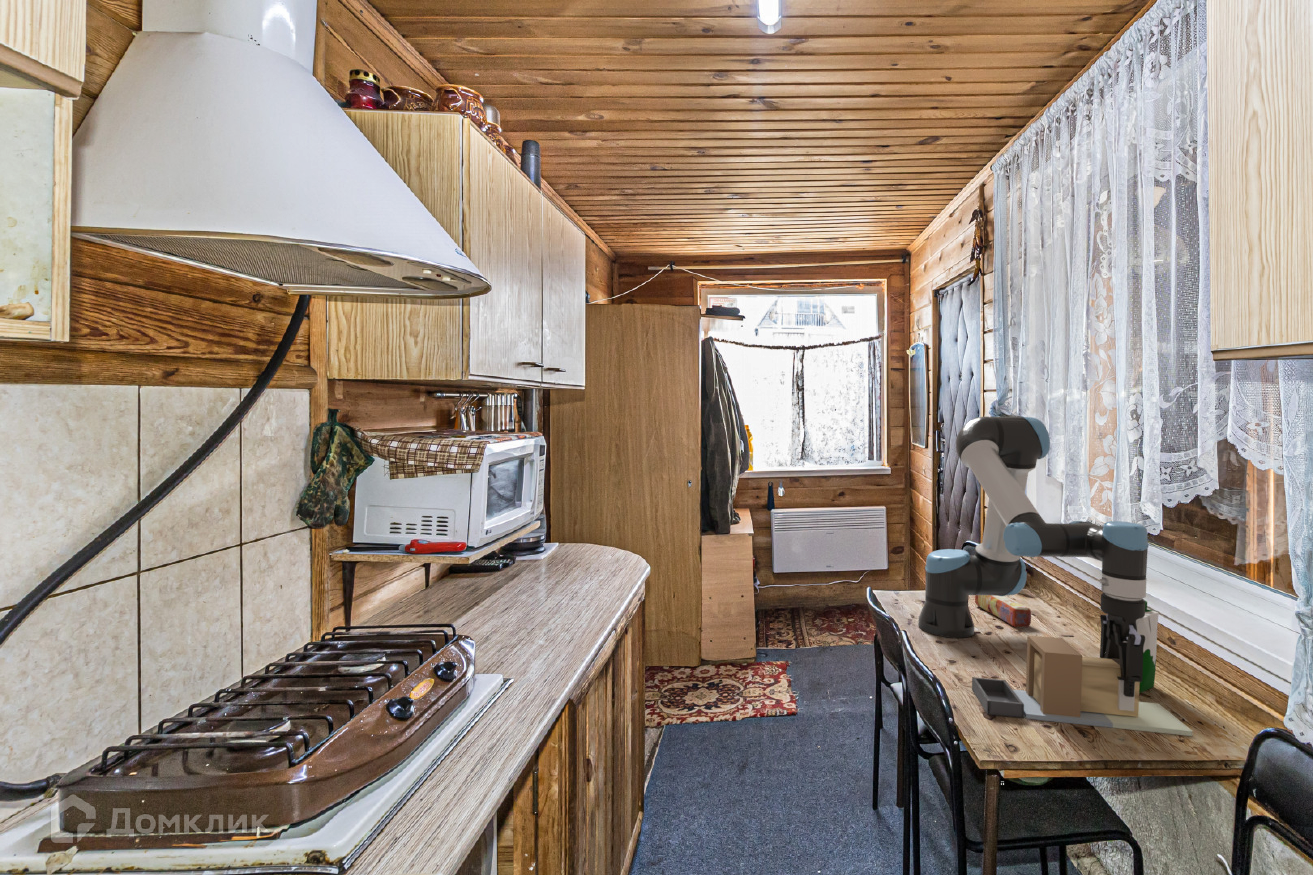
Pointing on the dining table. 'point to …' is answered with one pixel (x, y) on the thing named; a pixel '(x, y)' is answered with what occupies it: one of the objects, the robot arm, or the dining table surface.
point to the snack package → (1005, 609)
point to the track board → (1065, 693)
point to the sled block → (1094, 685)
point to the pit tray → (997, 697)
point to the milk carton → (1148, 647)
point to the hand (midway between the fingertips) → (1118, 702)
